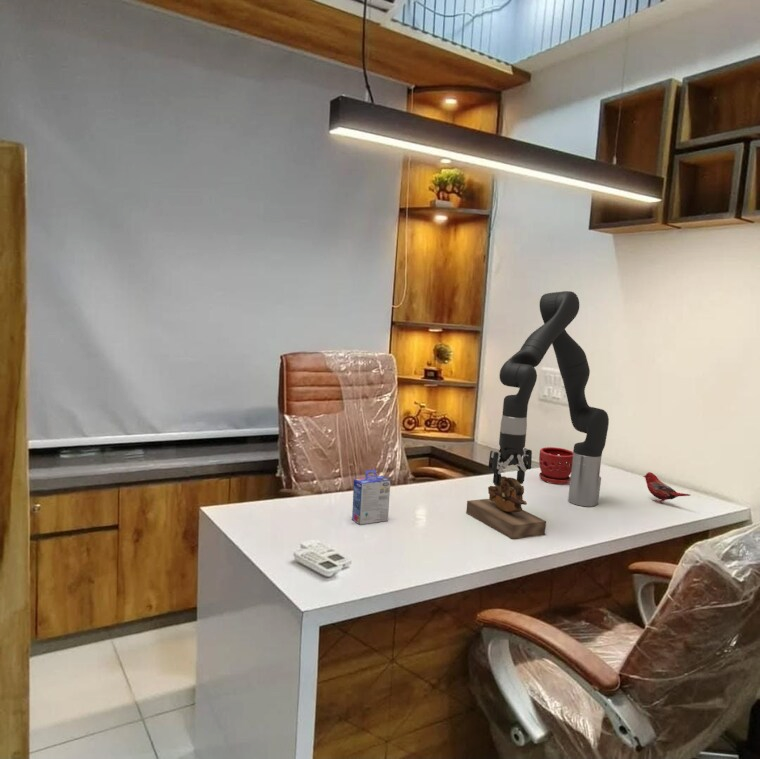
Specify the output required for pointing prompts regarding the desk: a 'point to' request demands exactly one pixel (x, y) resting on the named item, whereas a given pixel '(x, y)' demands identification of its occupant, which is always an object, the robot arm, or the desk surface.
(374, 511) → the ink cartridge box
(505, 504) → the wooden carving
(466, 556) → the desk surface
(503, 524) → the walnut plinth
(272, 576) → the desk surface
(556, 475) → the plant pot
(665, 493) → the decorative bird figurine
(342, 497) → the desk surface
